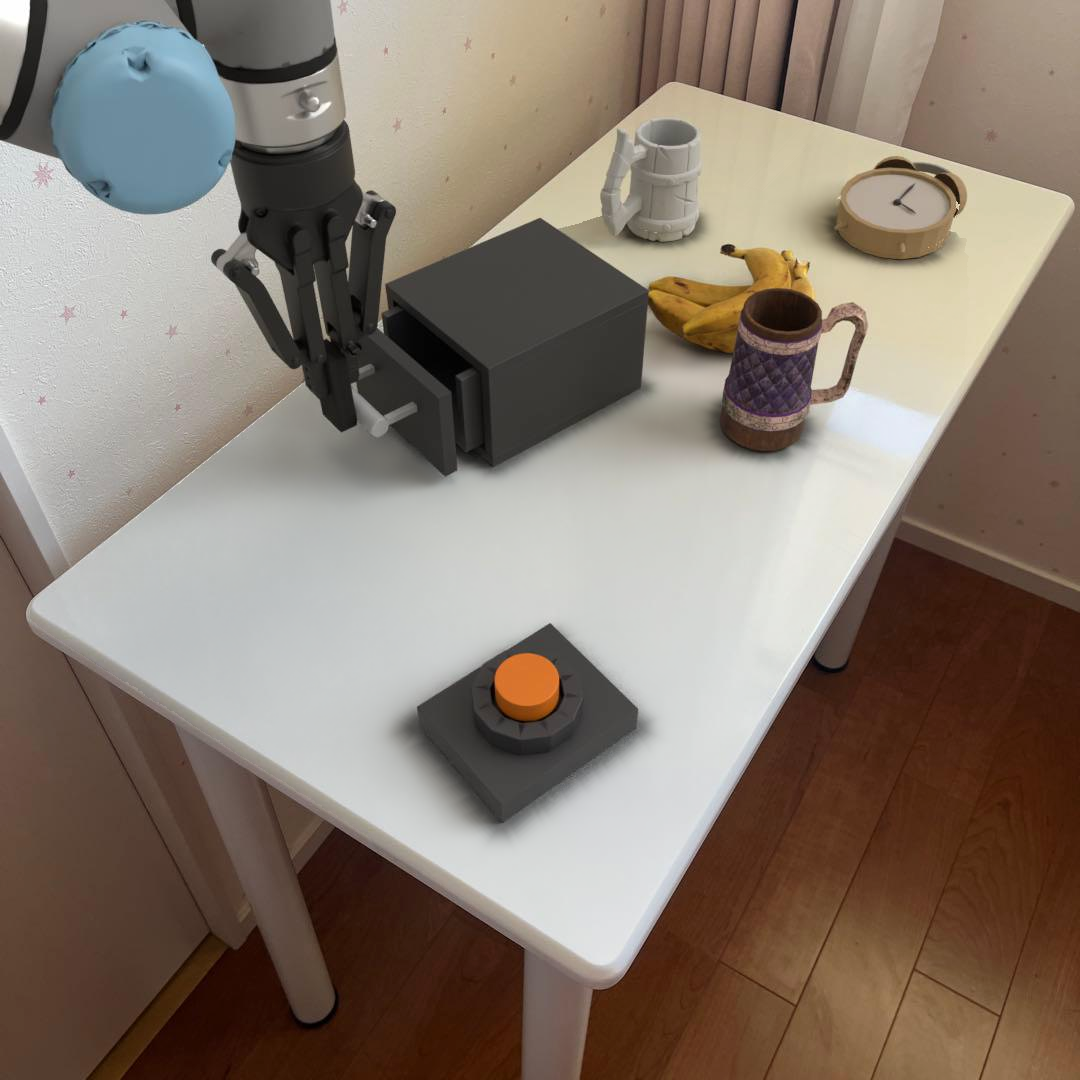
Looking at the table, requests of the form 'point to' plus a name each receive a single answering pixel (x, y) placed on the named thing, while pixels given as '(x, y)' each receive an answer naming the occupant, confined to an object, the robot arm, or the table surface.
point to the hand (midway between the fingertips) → (340, 419)
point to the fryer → (533, 330)
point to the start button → (526, 687)
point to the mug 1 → (655, 180)
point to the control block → (526, 726)
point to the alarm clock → (900, 208)
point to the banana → (723, 297)
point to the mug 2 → (781, 367)
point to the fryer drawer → (419, 390)
